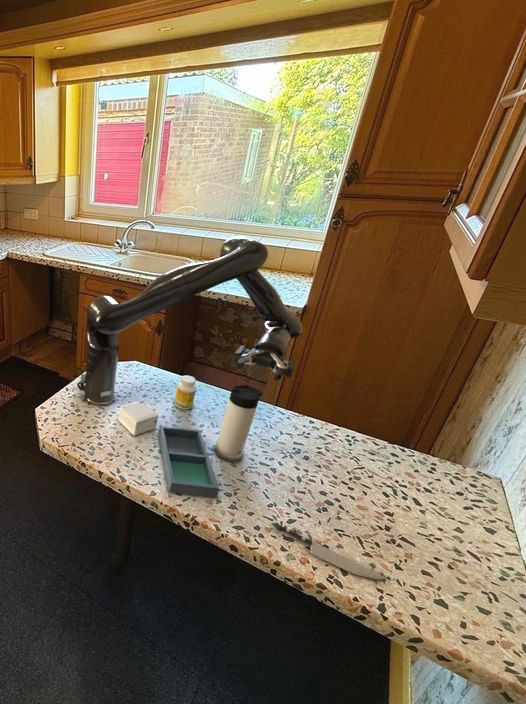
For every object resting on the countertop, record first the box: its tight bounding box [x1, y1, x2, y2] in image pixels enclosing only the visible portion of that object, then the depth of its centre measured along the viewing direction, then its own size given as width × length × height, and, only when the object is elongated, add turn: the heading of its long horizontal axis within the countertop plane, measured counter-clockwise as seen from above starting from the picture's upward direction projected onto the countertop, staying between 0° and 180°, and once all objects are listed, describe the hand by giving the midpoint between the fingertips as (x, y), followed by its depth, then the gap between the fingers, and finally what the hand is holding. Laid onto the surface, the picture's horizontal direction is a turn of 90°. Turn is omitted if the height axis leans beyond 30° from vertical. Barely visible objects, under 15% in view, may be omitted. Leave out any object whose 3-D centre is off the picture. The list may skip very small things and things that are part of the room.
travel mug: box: [214, 384, 263, 462], centre depth 100 cm, size 6×7×20 cm
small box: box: [117, 400, 159, 437], centre depth 114 cm, size 8×8×5 cm
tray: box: [157, 425, 220, 499], centre depth 101 cm, size 11×20×3 cm, turn 171°
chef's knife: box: [273, 523, 388, 580], centre depth 79 cm, size 19×1×3 cm
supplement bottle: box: [173, 374, 197, 410], centre depth 121 cm, size 5×5×10 cm
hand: (257, 372), depth 104 cm, fingers open, 8 cm apart
